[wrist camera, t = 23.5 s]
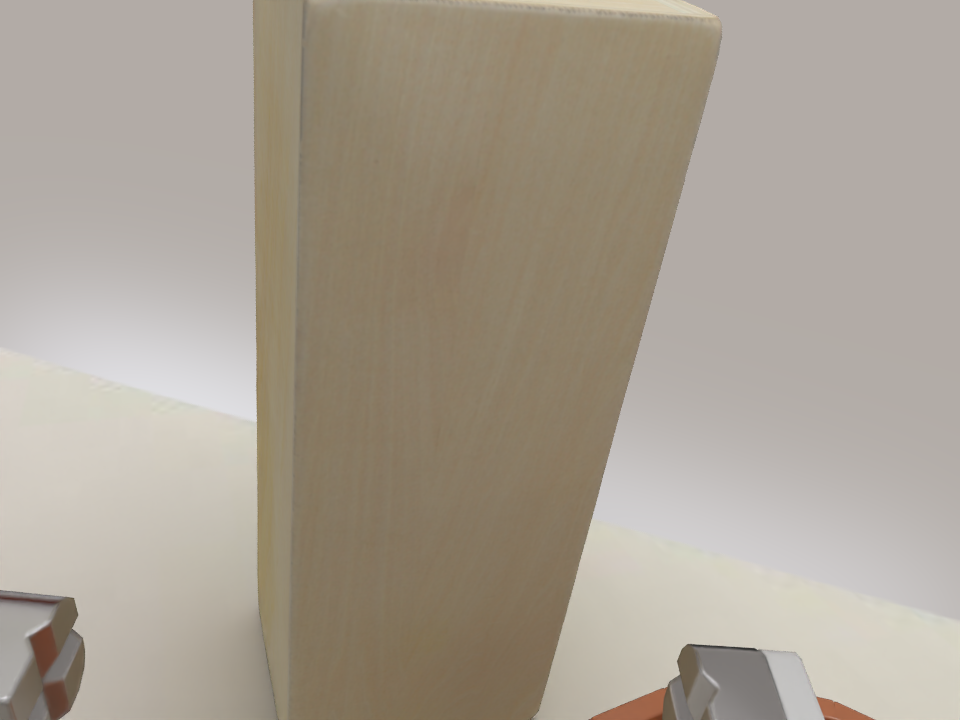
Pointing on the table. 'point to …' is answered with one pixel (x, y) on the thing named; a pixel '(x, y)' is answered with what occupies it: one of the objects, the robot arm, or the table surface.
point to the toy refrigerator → (450, 327)
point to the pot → (646, 712)
